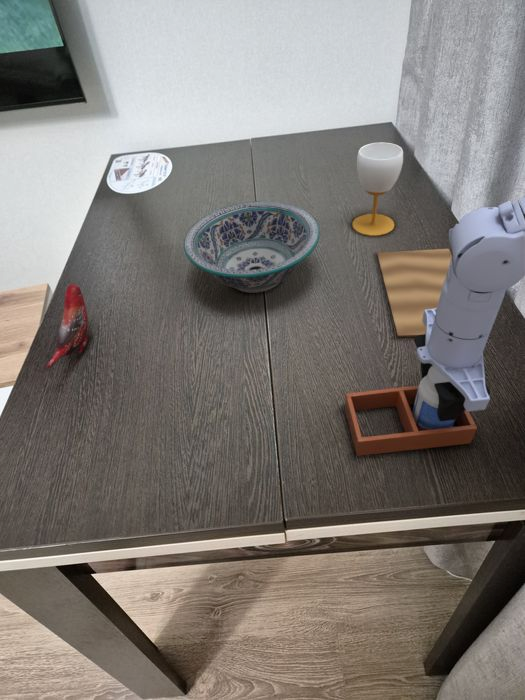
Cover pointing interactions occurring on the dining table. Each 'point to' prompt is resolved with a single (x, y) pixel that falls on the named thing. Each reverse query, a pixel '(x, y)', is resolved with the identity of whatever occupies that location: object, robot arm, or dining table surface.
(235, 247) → the bowl
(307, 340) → the dining table surface
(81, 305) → the decorative bird figurine
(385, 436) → the holder
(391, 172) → the cup
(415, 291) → the mat
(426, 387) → the pill bottle
